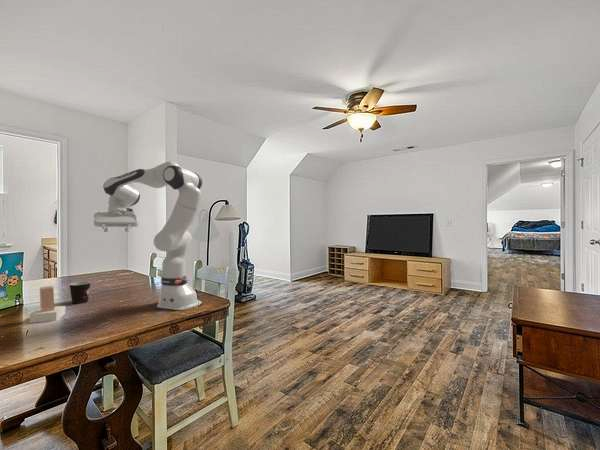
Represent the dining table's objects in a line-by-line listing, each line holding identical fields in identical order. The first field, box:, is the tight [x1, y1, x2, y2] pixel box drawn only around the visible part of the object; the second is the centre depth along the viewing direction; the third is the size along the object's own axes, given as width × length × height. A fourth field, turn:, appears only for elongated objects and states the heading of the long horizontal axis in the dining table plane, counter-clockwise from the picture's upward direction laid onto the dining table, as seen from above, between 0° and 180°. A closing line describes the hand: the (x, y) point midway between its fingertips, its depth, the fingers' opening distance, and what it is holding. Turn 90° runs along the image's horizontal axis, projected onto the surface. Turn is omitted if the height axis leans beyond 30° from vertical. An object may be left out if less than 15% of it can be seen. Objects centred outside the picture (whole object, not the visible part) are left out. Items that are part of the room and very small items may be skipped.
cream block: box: [29, 305, 66, 324], centre depth 122 cm, size 9×9×4 cm
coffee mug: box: [69, 280, 91, 305], centre depth 146 cm, size 12×9×10 cm
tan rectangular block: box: [39, 285, 55, 312], centre depth 121 cm, size 4×4×10 cm
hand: (116, 231), depth 148 cm, fingers open, 8 cm apart
